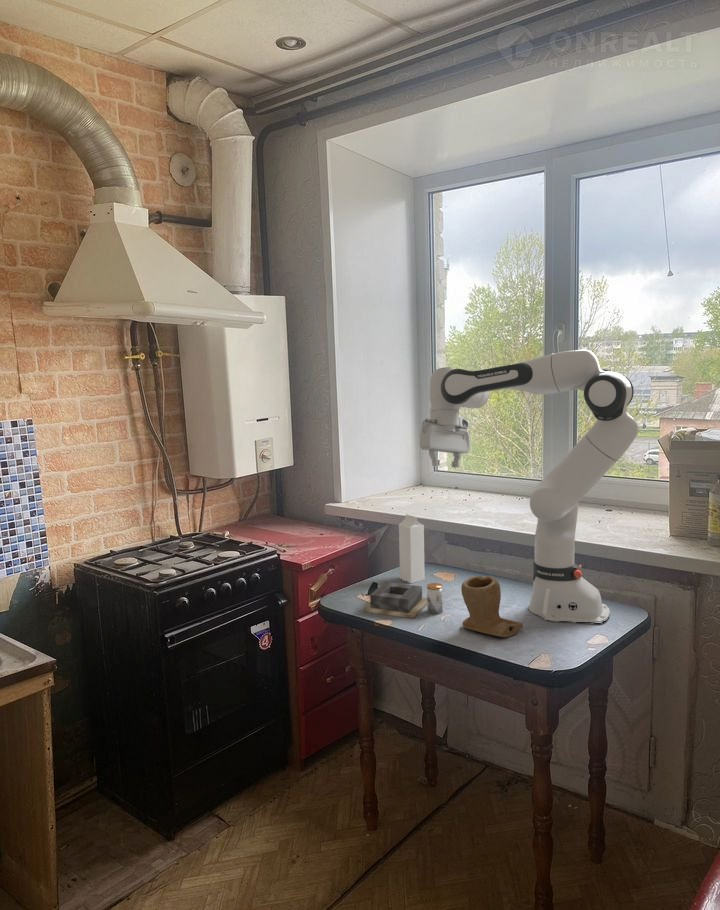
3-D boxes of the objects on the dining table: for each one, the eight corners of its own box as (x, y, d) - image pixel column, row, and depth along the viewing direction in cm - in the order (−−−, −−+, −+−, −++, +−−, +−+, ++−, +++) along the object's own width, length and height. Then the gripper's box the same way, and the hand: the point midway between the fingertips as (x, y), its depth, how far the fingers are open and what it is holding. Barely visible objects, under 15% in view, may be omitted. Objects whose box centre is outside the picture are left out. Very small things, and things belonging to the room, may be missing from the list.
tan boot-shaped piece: (452, 631, 185) (452, 578, 183) (477, 618, 194) (476, 567, 192) (500, 646, 175) (500, 590, 173) (524, 632, 184) (524, 578, 181)
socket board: (429, 601, 208) (429, 586, 207) (414, 618, 195) (413, 601, 194) (381, 595, 214) (380, 580, 214) (363, 611, 202) (362, 595, 201)
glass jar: (444, 609, 201) (444, 583, 200) (439, 615, 197) (439, 588, 196) (430, 608, 203) (429, 582, 202) (425, 613, 199) (425, 587, 198)
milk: (411, 583, 225) (409, 518, 221) (399, 579, 230) (398, 515, 226) (425, 579, 228) (423, 515, 225) (413, 575, 233) (412, 512, 230)
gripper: (430, 416, 197) (431, 464, 196) (472, 423, 211) (474, 467, 210) (414, 419, 202) (415, 465, 200) (456, 425, 216) (457, 469, 214)
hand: (445, 466), depth 205 cm, fingers open, 8 cm apart
